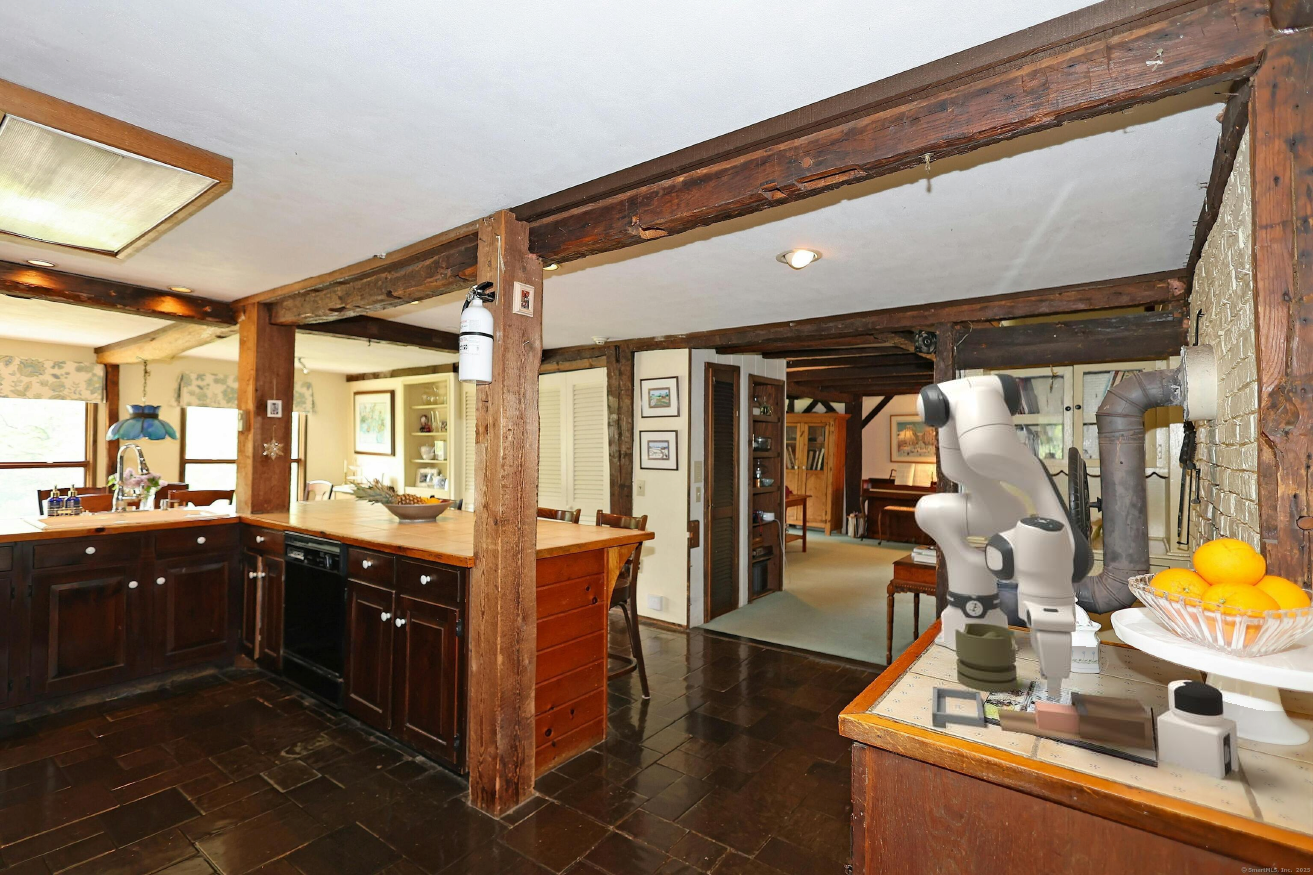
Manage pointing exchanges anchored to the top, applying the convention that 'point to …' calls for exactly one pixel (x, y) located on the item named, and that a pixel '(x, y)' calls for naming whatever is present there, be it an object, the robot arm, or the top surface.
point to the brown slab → (1093, 722)
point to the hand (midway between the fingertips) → (1050, 687)
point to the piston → (986, 657)
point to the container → (1197, 730)
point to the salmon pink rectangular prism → (1057, 717)
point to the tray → (942, 717)
